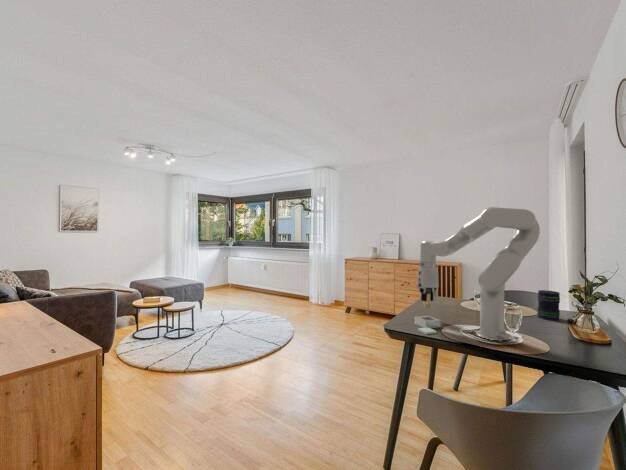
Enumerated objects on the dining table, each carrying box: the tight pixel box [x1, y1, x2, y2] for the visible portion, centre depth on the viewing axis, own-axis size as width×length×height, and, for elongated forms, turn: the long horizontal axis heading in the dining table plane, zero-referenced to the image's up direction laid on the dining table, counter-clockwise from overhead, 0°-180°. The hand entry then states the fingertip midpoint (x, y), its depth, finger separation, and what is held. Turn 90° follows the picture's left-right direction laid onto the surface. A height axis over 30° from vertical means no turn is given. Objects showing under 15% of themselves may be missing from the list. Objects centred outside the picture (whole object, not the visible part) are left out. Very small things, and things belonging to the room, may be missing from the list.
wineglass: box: [428, 288, 438, 317], centre depth 167 cm, size 8×8×21 cm
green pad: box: [417, 327, 437, 335], centre depth 145 cm, size 6×6×1 cm
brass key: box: [422, 288, 432, 308], centre depth 156 cm, size 4×4×10 cm
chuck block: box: [414, 315, 442, 329], centre depth 157 cm, size 12×9×4 cm
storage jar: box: [537, 289, 561, 322], centre depth 171 cm, size 10×10×15 cm
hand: (427, 300), depth 156 cm, fingers closed on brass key, 3 cm apart
